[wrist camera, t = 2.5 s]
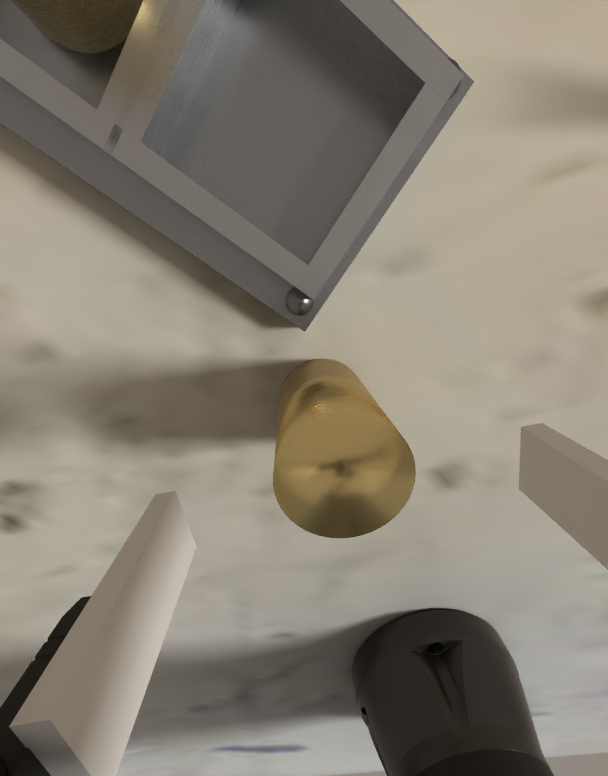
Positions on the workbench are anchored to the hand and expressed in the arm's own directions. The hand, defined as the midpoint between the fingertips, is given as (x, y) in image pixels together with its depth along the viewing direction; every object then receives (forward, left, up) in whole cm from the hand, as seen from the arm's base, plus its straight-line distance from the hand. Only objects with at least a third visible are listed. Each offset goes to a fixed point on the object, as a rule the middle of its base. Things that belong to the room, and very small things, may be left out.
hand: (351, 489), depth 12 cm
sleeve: (0, 0, -11) cm, 11 cm away
